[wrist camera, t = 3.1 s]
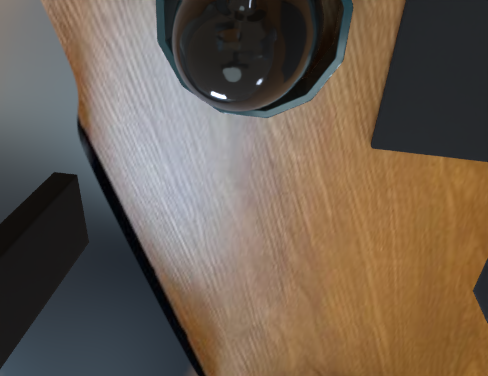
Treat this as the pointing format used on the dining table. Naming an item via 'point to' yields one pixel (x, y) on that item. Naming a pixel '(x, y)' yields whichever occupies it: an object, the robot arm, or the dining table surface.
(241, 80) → the dark glossy rounded piece
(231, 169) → the dining table surface
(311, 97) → the teal ring
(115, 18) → the dining table surface
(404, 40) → the rubber mat
